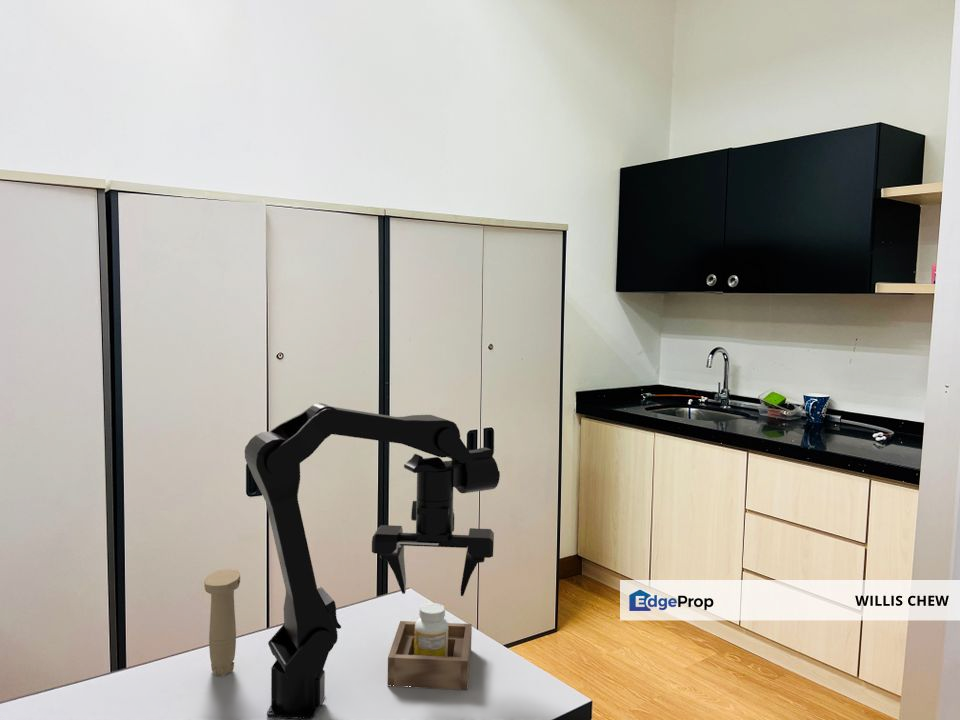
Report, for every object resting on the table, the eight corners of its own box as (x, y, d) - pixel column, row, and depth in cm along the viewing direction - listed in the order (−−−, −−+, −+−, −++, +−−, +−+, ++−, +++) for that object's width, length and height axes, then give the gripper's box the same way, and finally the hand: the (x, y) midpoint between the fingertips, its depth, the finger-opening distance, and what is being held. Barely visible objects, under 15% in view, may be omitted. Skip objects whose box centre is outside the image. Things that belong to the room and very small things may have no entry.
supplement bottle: (439, 678, 105) (441, 618, 104) (407, 671, 107) (409, 611, 106) (452, 662, 110) (454, 604, 109) (422, 655, 112) (423, 598, 111)
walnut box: (387, 686, 103) (387, 657, 102) (399, 646, 115) (400, 620, 114) (466, 689, 102) (467, 661, 102) (471, 650, 114) (471, 624, 114)
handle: (244, 660, 109) (244, 569, 108) (232, 682, 102) (232, 585, 101) (213, 660, 109) (213, 569, 107) (199, 682, 102) (198, 585, 101)
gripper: (495, 485, 114) (493, 576, 115) (384, 481, 115) (383, 572, 116) (494, 504, 103) (491, 604, 104) (371, 500, 104) (370, 599, 105)
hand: (433, 593), depth 108 cm, fingers open, 9 cm apart
